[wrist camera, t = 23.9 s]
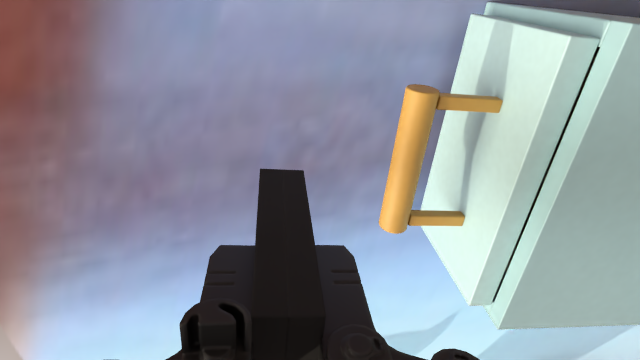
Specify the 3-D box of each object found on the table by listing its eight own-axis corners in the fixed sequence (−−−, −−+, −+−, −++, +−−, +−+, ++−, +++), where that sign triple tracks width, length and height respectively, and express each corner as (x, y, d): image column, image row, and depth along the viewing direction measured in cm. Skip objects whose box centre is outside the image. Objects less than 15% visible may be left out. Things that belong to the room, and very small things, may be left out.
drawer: (353, 220, 25) (383, 308, 18) (388, 4, 19) (452, 24, 13) (635, 223, 28) (746, 299, 22) (740, 40, 22) (935, 70, 16)
